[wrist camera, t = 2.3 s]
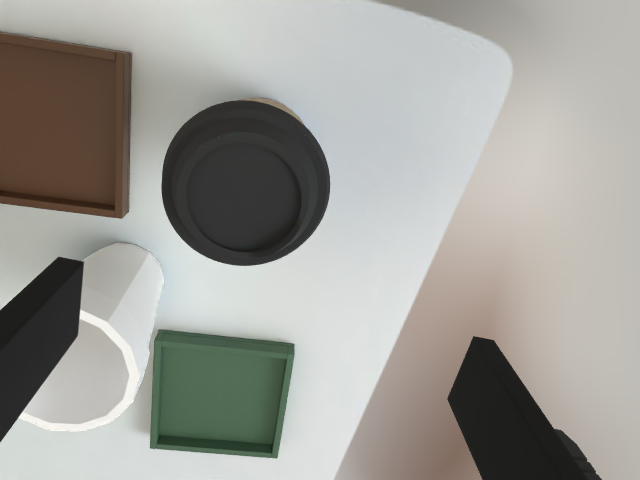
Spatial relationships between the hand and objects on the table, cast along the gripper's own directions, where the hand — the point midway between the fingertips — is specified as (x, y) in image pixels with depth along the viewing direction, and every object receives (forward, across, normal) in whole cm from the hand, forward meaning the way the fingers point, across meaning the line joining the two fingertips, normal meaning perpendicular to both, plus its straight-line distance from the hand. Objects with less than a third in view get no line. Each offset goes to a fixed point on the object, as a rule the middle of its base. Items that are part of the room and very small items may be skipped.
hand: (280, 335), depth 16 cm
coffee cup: (+25, -2, +1) cm, 25 cm away
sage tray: (+24, -1, -23) cm, 33 cm away
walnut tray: (+24, -18, -1) cm, 31 cm away
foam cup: (+25, -11, -12) cm, 30 cm away
